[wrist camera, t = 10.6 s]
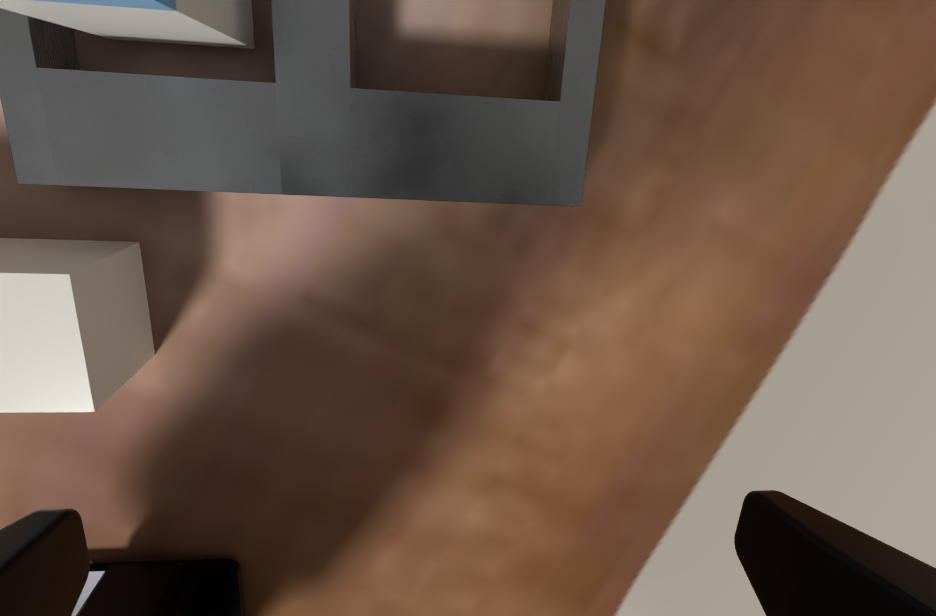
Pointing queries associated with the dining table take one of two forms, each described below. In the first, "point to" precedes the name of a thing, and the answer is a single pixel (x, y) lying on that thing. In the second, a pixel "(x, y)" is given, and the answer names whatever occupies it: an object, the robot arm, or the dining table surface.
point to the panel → (299, 120)
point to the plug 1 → (150, 19)
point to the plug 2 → (70, 322)
